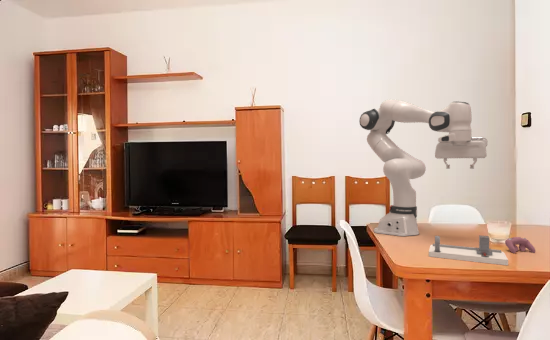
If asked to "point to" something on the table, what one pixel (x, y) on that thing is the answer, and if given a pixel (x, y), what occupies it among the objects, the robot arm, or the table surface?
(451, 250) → the gauge board
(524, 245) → the video game controller
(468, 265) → the table surface
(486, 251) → the leg
